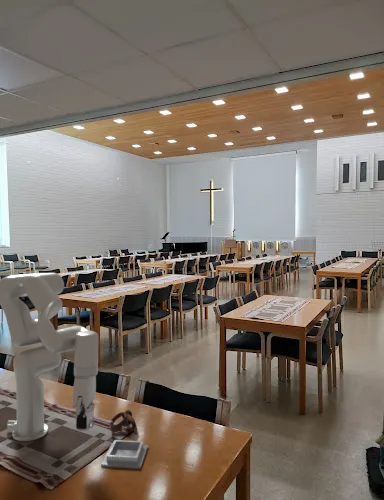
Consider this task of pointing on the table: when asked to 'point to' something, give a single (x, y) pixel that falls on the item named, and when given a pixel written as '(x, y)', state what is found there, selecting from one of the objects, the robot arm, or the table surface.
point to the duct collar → (125, 454)
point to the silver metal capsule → (89, 416)
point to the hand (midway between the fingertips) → (84, 423)
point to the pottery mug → (123, 421)
